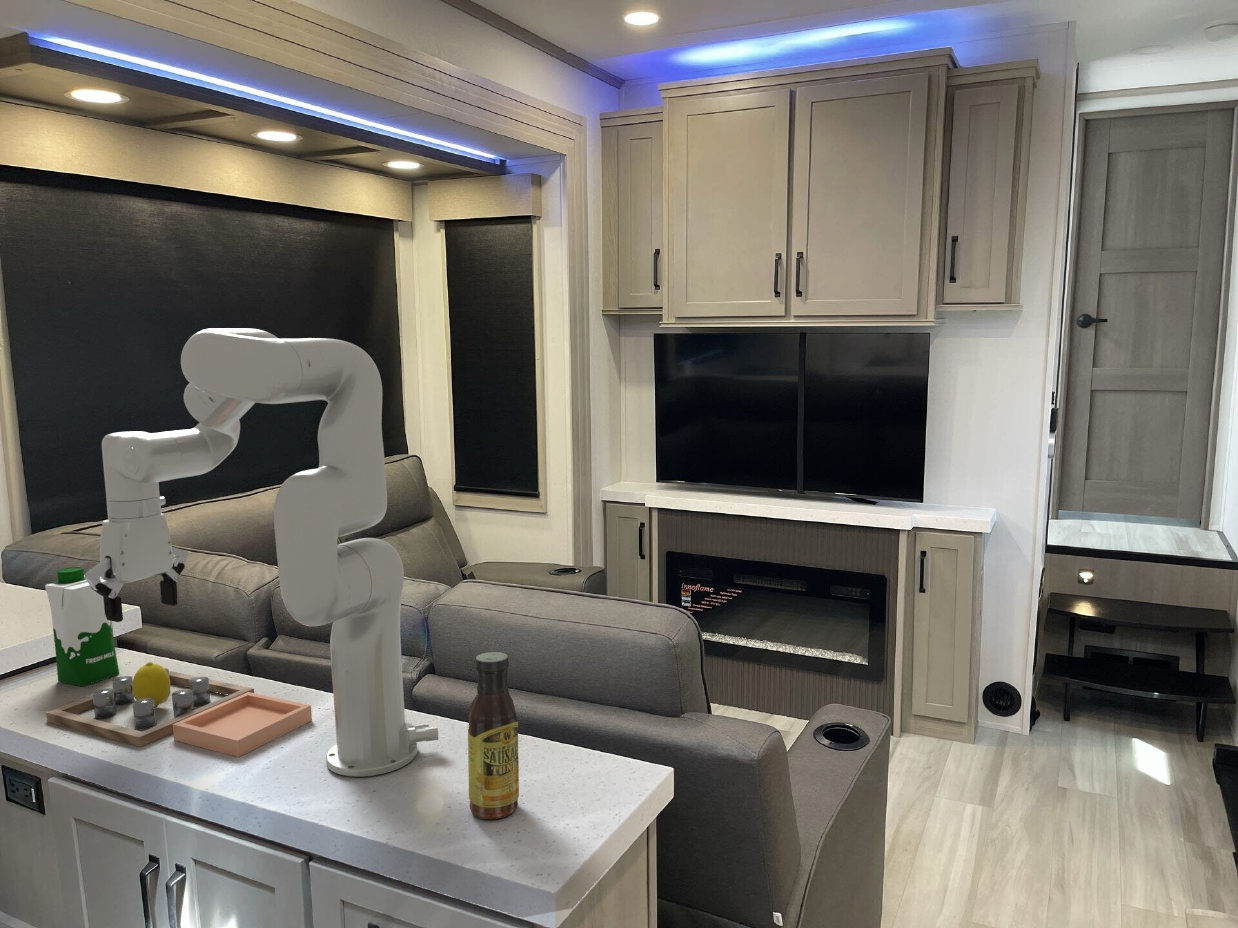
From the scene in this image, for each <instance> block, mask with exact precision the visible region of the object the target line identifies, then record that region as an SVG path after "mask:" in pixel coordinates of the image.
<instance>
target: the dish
mask: <svg viewBox="0 0 1238 928" xmlns="http://www.w3.org/2000/svg"><path fill="white" fill-rule="evenodd" d="M312 713H313V712H312V705H310V704H306V703H303V702H297V701H292V700H288V699H283V698H279V697H274V696H269V695H265V694H264V695H263V694H259V693H255V692H254V693H251V692H247V693H245V694H242V695H240V696H238V697H235V698H233V699H231V700H228V701H226V702H224V703H221V704H219V705H217V706H214V707H212V708H210V709H207V710H205V711H203V712H200V713H198V714H196V715H193V716H191V717H189V718H186V719H184V720H182V721H179V722H177V723H175V724H173V733H172V734H173V741H176V742H179V741H180V743H184V744H186V745H187V744H188V745H192V746H196V747H198V748H203V749H206V750H210V751H214V752H217V753H221V754H226V755H229V756H233V757H237V758H239V757H242V756H244V755H246V754H248V753H250V752H252V751H253V750H256V749H258V748H260V747H262V746H264V745H266V744H268V743H270V742H272V741H274V740H276V739H277V738H280V737H282V736H284V735H286V734H288V733H289V732H291V731H294V730H295V729H298V728H301V727H302V726H305V725H306V724H308V723H310V722H312V721H313V717H312V716H313V715H312Z"/></svg>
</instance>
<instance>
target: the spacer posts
mask: <svg viewBox="0 0 1238 928" xmlns="http://www.w3.org/2000/svg"><path fill="white" fill-rule="evenodd" d="M164 668H165V670H166V671H167V673H168V675H169V671H170V670H169V669H168V668H166V667H164ZM133 679H134V678H133V676H132V675H123V676H118V677H115V678H113V679H112V680H111V685H112V688H113V689H112V688H108V687H107V688H100V689H98V690H94V691H93V692H92V696H93V704H94V708H93V712H94V719H95V720H106V719H109V718H113V717H114V716H115V715H117V710H116V709H117V708H116V706H126V705H129V704H132V710H133V713H132V714H133V721H134V728H135V729H134V730H137V731H140V730H143V731H144V730H148V729H150V728H152V727H155V726H157V718H156V716H157V715H156V709H155V704H154V699H153V698H142V699H138V700H136V699H135V697H134V694H133V687H132V686H133ZM208 679H209V677H208V676H196V678H193V679H190V680H189V687H188V688H184V689H179V690H176V691H173V692H172V691H171V690H172V689H170V692H169V695H170V694H171V701H172V710H173V711H172V713H173V719H174V718H176V717H179V716H181V715H183V714H186V713H188V712H190V711H193V710H195V707H202V705H203V706H205V705H207V703H208V704H209V702H210V703H211V694H210V693H211V692H209V680H208ZM171 692H172V693H171Z"/></svg>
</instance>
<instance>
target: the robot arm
mask: <svg viewBox="0 0 1238 928" xmlns="http://www.w3.org/2000/svg"><path fill="white" fill-rule="evenodd" d="M180 367H181V371H182V373H183V376H184V377H185V379H186V381H188V384H187V385H186V387H185V388H184V393H183V402H184V405H185V407H186V410H187V411H188V412H189V414H190V415H191V416H192V417H193V418H194V419H195V420H196V421H197V422H198V423H197V424H196V426H194V427H192V428H190V429H179V430H170V431H161V432H152V433H151V432H147V431H137V430H136V431H131V430H130V431H119V432H112V433H109V434H105V436H104V437H103V438H102V440H101V452H102V453H101V454H102V464H103V465H102V466H103V475H104V486H105V498H106V511H107V519H106V520H102V525H101V531H100V532H101V533H100V540H99V562H98V563H96V565H95V566H93V567H92V568H91V569H89V570H88V571H87V572H86V573H84V575H85V576H84V577H85V579H86V580H87V582H88V583H89V585H91V588H92V589H93V590H94V591H95V592H97V593H98V594H99V595H100V596H102V597H103V599H104V610H105V616H106V618H107V620H109V621H112V622H115V623H120V622H122V621H124V616H123V615H124V614H123V603H122V598H121V596H118V594H119V593H120V591H121V590H122V588H123V586H124V584H128V583H133V582H136V581H139V580H144V579H149V578H152V577H156V576H159V577H161V578H162V580H159V582H160V583H159V588H160V600H161V601H160V602H161V604H162V605H167V606H171V607H172V606H173V607H175V606H177V605H178V585H177V584H178V583H177V582H178V581H179V580H180V577H181V576H180V575H181V574H182V573H183V572H184V569H185V567H186V565H185V563H186V561H187V559H188V556H189V552H188V551H187V550H184V549H181V548H177V547H174V546H173V544H172V539H171V533H170V528H169V525H168V522H167V519H166V516H165V514H164V512H163V513H162V507H161V506H164V505H166V503H167V502H166V501H167V500H166V498H165V497H164V496H161V495H160V485H159V484H160V482H165V481H171V480H176V479H177V480H178V479H183V478H189V477H195V476H201V475H203V474H207V473H209V472H211V471H212V470H214V469H215V468H216V467H217V466H219V465H220V464H221V463H222V462H223V461H224V460H225V459H226V458H227V457H228V456H229V455H230V454H231V453H232V452H233V451H234V449H235V448H236V447H237V445H238V442H239V438H240V432H241V422H240V420H241V418H242V417H243V416H244V415H245V414H246V413H247V412H248V411H249V410H250V409H251V408H252V407H253V406H254V405H255V404H258V403H259V404H265V405H266V404H267V405H268V404H269V405H279V404H280V405H281V404H288V403H289V404H290V403H301V402H311V401H326V402H327V406H326V407H325V410H324V412H323V413H322V416H321V418H320V421H319V425H318V430H317V444H318V457H319V459H318V460H319V463H318V468H311V469H307V470H306V469H305V470H301V471H299V472H296V473H294V474H292V475H290V476H289V477H288V478H286V479H285V480H284V482H283V483H282V484H281V485H280V487H279V489H278V490H277V491H278V492H277V494H276V496H275V500H274V505H273V527H274V537H275V538H274V539H275V548H276V560H277V570H278V571H277V572H278V580H279V581H278V582H279V587H280V594H281V598H282V600H283V604H284V606H285V609H286V610H287V612H288V613H289V615H290V616H291V617H292V618H293V619H294V620H295V621H296V622H298V623H299V624H301V625H304V626H308V627H319V626H324V625H327V624H331V623H332V626H331V630H330V631H331V632H330V641H329V643H330V644H329V645H330V647H329V648H330V666H331V678H332V693H333V694H332V695H333V706H334V723H335V735H336V737H335V738H336V743H335V744H334V745H333V746H331V747H330V749H329V750H328V751H327V753H326V756H325V761H326V767H327V768H328V769H329V770H330V771H331V772H333V773H335V774H338V775H341V776H344V777H345V776H346V777H355V778H356V777H360V778H361V777H374V776H378V775H383V774H388V773H390V772H393V771H396V770H398V769H400V768H403V767H406V765H407V764H409V763H411V762H412V761H413V760H414V759H415V758H416V756H417V754H418V750H419V749H418V747H419V746H418V743H420V742H433V741H439V727H438V725H437V726H429V725H430V724H429V722H423V723H418V724H413V723H412V722H411V723H409V722H408V716H407V714H405V700H404V698H405V697H404V682H403V681H404V680H403V667H402V666H403V665H402V664H403V663H402V644H401V643H402V642H401V640H402V638H401V605H402V598H403V597H402V596H403V590H404V585H405V584H404V579H405V572H404V571H405V570H404V564H403V561H402V558H401V556H400V553H399V552H398V551H397V549H396V548H395V547H394V546H393V545H392V544H390V542H387V541H385V540H383V539H380V538H377V537H376V538H375V537H364V538H358V539H357V538H356V539H354V540H349V541H346V542H342V543H339V544H338V538H341V537H343V536H347V535H350V534H354V533H357V532H361V531H365V530H367V529H370V528H372V527H374V526H376V525H377V524H379V523H380V522H381V521H383V519H384V517H385V514H386V513H387V509H388V491H387V489H388V488H387V477H386V476H387V474H386V461H385V450H384V448H385V447H384V442H383V441H384V440H383V427H382V426H383V425H382V420H383V417H382V415H383V385H382V379H381V375H380V372H379V369H378V366H377V365H376V363H375V362H374V360H373V359H372V357H371V356H370V354H368V353H367V352H366V351H365V350H364V349H362V348H361V347H359V346H358V345H356V344H354V343H352V342H348V341H345V340H341V339H337V338H336V339H334V338H323V337H322V338H321V337H319V338H318V337H317V338H315V337H313V338H312V337H308V338H304V337H303V338H278V336H276V335H274V334H272V333H270V332H268V331H265V330H262V329H259V328H258V329H257V328H206V329H202V330H200V331H197V332H196V333H194V334H193V335H191V337H190V338H188V340H187V341H186V342H185V344H184V345H183V348H182V351H181V355H180ZM174 558H175V559H174ZM100 577H102V579H103V580H106V581H105V583H104V584H103V583H102V582H101V580H100Z"/></svg>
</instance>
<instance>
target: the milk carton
mask: <svg viewBox="0 0 1238 928" xmlns="http://www.w3.org/2000/svg"><path fill="white" fill-rule="evenodd" d="M84 576H85V572H84V567H81V566H76V567H75V566H71V567H66V568H62V569H59V570H57V581H55V582H51V583H47V584H45V585H44V587H45V591H46V595H47V598H48V603H49V607H50V611H51V621H52V631H53V642H54V648H55V649H54V650H55V658H56V659H55V660H56V670H57V671H56V672H57V681H58V682H59V681H60V682H61V683H64V684H69V685H73V686H77V687H87V686H88V685H92V684H96V683H98V682H101V681H103V680H106V679H109V678H111V677H114V676H117V675H120V668H119V663H118V658H117V651H116V648H115V638H114V630H113V627H114V626H113V621H109V620H107V618H106V616H105V610H104V599H103V597H102V596H100V595H99V594H98V593H97V592H95V591H94V590H93V589H92V588H91V585H89V583H88V582H87V580H86V579H85V577H84ZM100 580H101V582H102V583H103V584H104V583H105V581H106V580H103V579H102V577H101V576H100ZM60 682H59V683H60Z"/></svg>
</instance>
